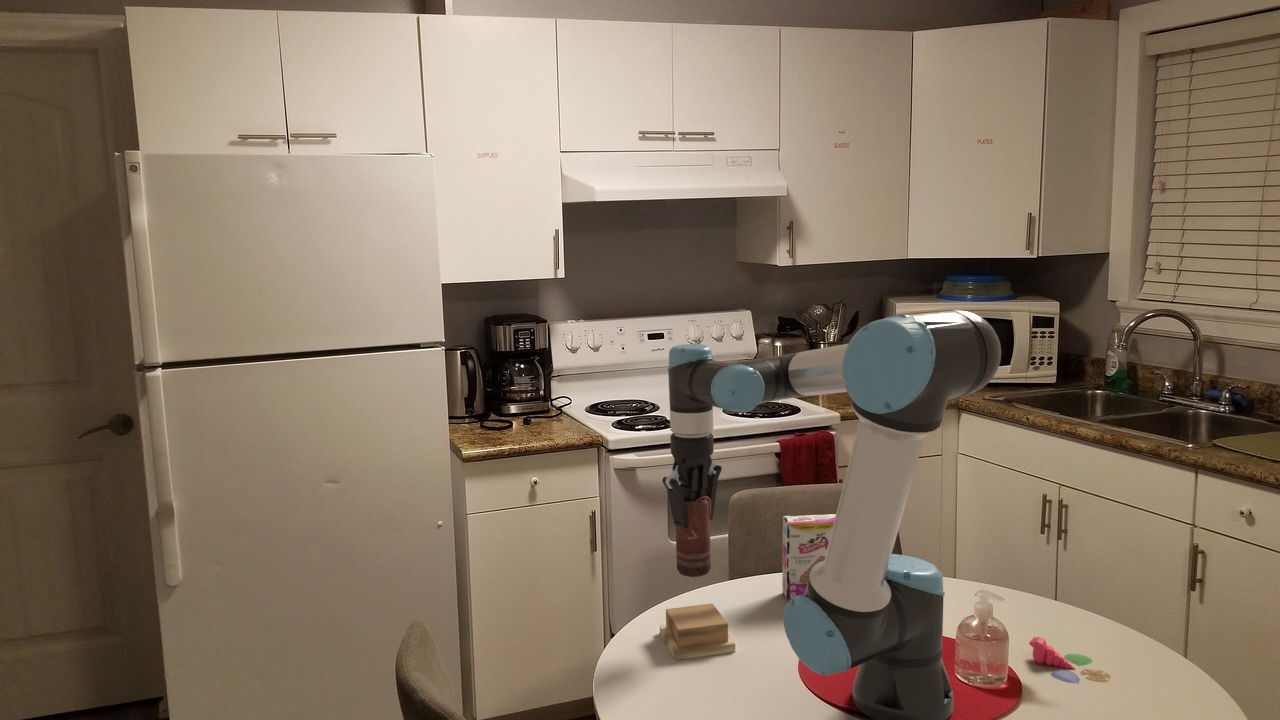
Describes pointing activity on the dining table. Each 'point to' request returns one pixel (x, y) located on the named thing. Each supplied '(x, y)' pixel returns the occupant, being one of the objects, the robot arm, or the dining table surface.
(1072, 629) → the dining table surface
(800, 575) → the candy bar box
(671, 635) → the stand
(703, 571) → the can
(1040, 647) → the toy pieces
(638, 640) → the dining table surface
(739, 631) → the dining table surface
